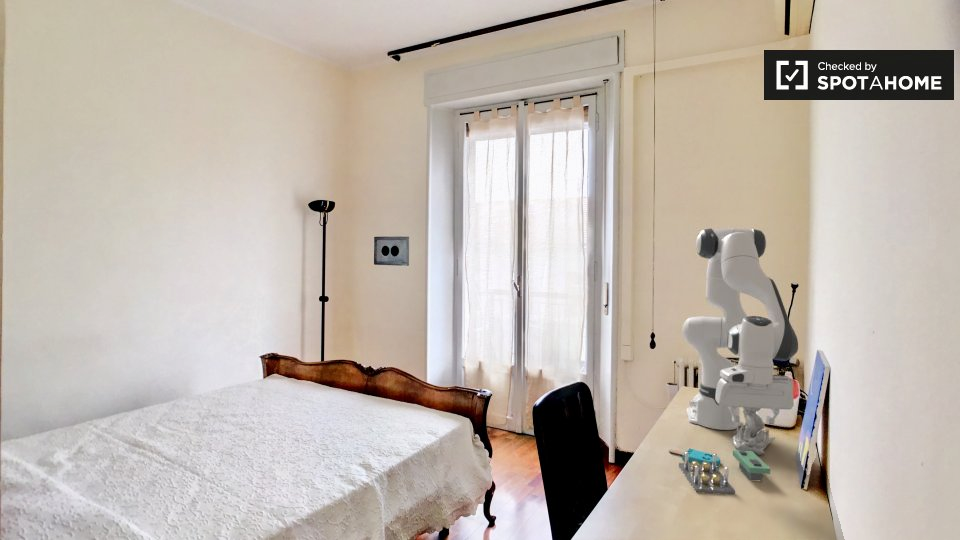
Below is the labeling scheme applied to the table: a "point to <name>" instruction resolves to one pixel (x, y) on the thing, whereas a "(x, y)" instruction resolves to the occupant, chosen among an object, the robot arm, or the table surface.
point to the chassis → (706, 476)
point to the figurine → (752, 433)
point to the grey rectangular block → (750, 474)
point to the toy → (697, 456)
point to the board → (751, 462)
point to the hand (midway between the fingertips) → (752, 422)
